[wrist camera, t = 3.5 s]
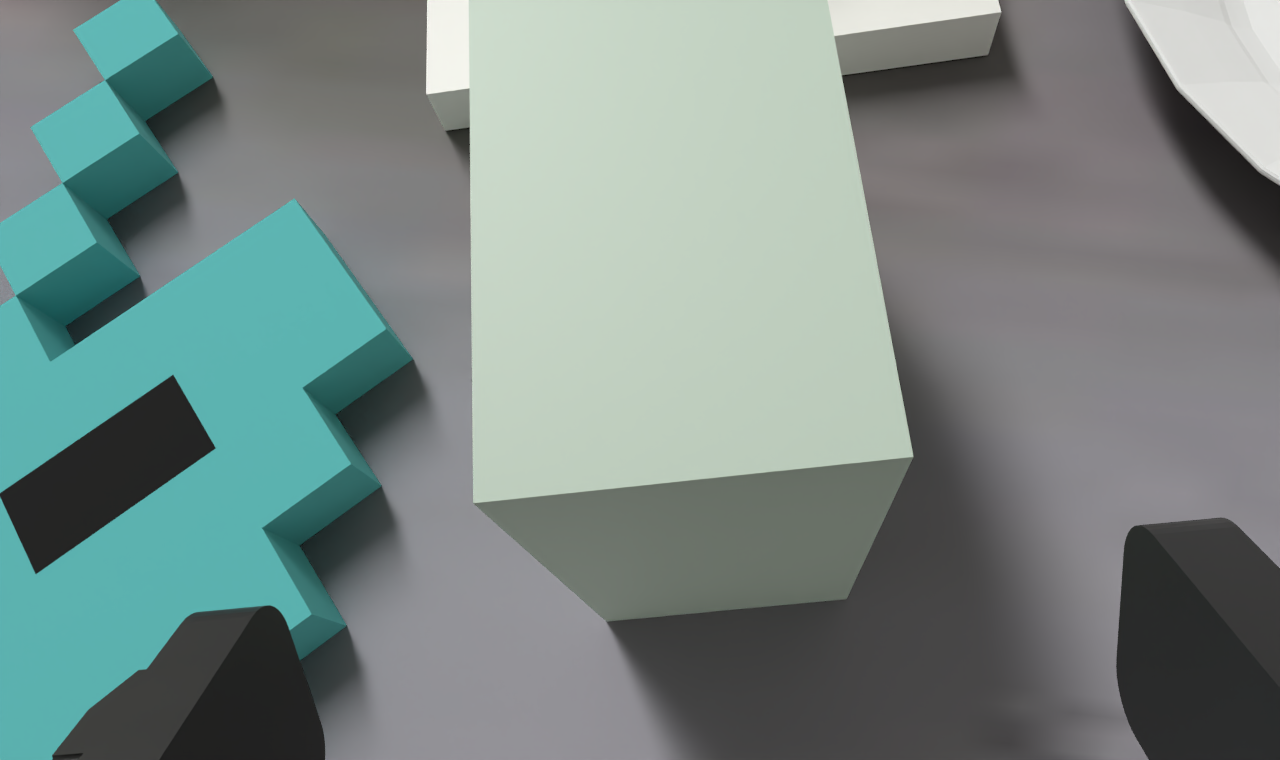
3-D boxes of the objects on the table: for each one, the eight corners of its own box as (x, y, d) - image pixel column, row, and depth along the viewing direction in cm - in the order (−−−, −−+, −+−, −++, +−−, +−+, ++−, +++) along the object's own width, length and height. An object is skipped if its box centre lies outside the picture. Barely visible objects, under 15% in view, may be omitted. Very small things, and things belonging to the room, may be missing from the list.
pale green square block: (606, 621, 20) (473, 503, 11) (582, 213, 24) (467, -128, 15) (845, 599, 20) (913, 456, 11) (783, 187, 24) (793, -182, 14)
